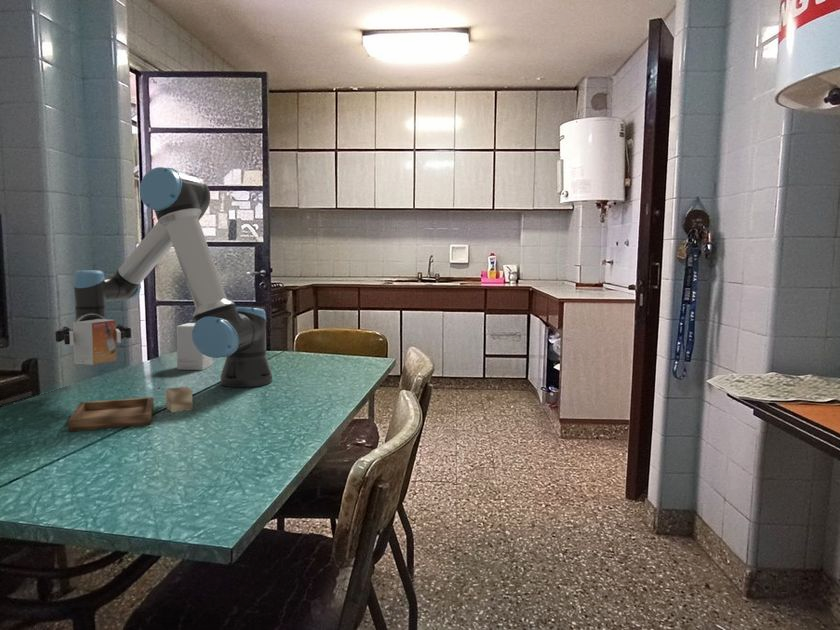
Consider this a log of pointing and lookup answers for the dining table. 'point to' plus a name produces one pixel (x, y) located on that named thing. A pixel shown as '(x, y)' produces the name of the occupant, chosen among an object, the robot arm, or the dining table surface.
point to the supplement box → (189, 350)
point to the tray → (111, 414)
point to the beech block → (179, 399)
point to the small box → (94, 341)
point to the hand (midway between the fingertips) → (95, 338)
